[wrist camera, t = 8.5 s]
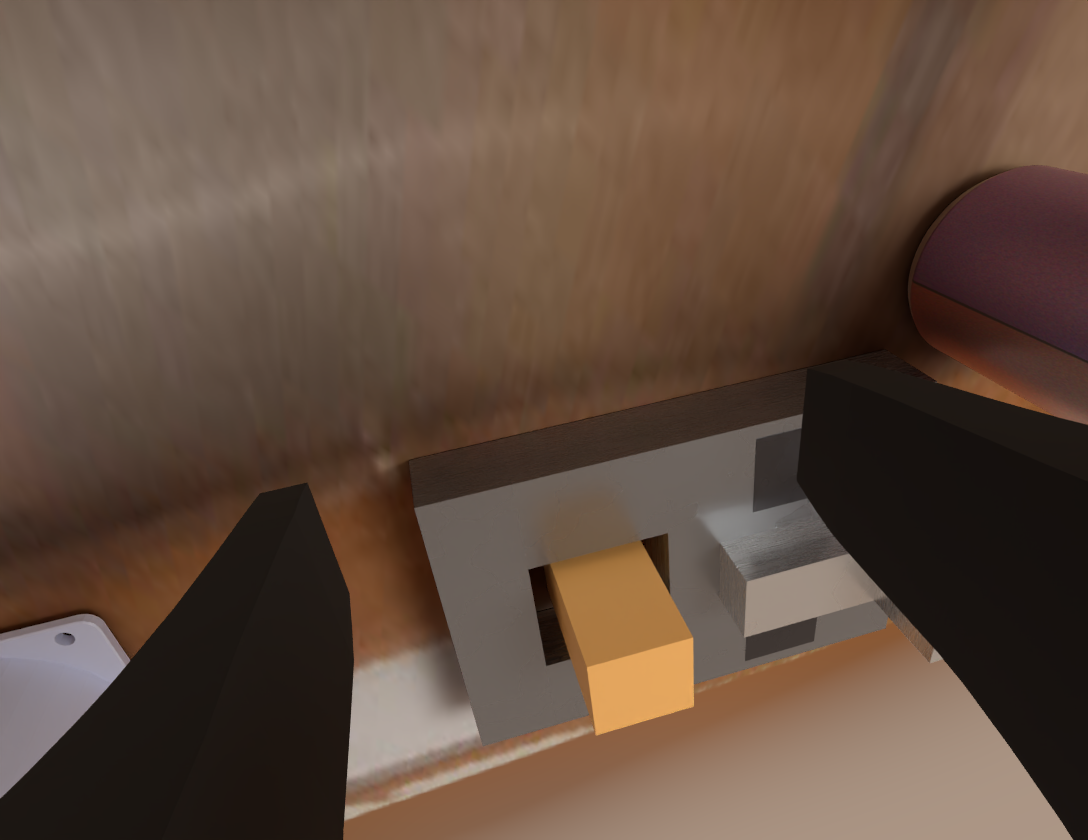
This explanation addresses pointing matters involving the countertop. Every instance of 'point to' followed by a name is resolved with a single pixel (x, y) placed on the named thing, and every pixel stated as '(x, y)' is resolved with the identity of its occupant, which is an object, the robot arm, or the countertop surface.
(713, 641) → the rosette plate
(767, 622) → the bracket
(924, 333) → the beverage can
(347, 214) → the countertop surface
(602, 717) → the orange rectangular block
